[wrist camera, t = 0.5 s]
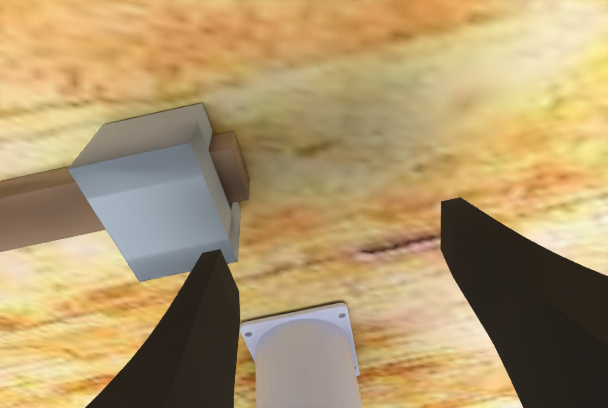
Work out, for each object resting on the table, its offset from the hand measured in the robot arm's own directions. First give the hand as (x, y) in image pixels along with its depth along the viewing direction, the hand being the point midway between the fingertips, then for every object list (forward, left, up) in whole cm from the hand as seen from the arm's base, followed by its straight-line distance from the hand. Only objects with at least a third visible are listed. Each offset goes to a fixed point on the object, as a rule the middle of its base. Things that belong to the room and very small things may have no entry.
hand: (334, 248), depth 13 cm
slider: (-1, +7, -9) cm, 12 cm away
